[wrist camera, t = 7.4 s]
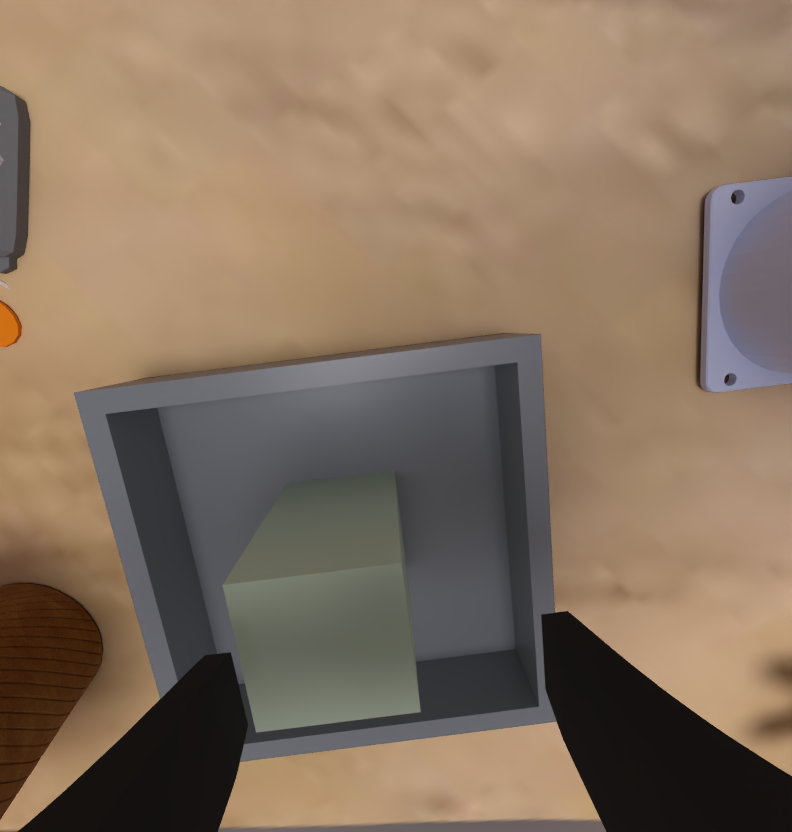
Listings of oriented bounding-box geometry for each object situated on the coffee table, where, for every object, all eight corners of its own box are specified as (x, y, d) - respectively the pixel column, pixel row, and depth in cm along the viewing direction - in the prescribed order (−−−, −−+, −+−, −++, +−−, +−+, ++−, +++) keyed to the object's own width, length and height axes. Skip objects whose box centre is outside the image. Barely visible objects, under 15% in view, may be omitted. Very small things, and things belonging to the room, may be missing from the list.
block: (394, 470, 17) (401, 562, 10) (407, 568, 18) (420, 712, 11) (286, 483, 17) (222, 585, 10) (304, 581, 18) (256, 732, 11)
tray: (505, 333, 17) (540, 334, 13) (526, 645, 20) (560, 721, 16) (144, 378, 17) (74, 392, 13) (219, 684, 20) (180, 769, 16)
